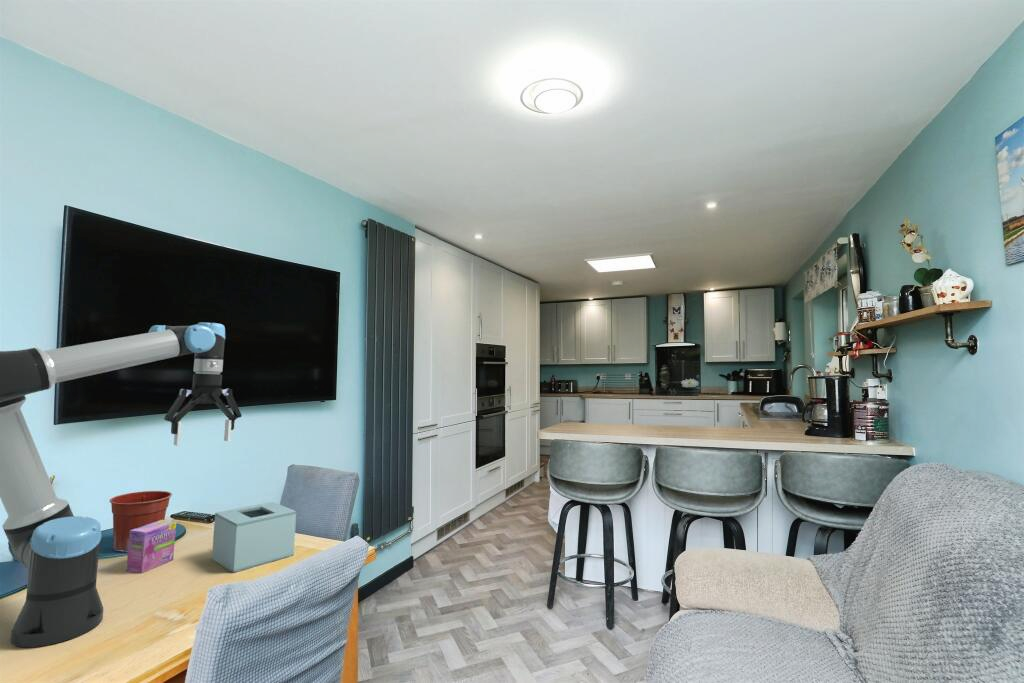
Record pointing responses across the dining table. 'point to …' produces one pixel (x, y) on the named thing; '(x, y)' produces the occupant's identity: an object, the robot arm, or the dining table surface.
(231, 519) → the posting box
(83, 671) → the dining table surface
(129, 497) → the flower pot
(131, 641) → the dining table surface
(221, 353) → the robot arm
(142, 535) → the box
